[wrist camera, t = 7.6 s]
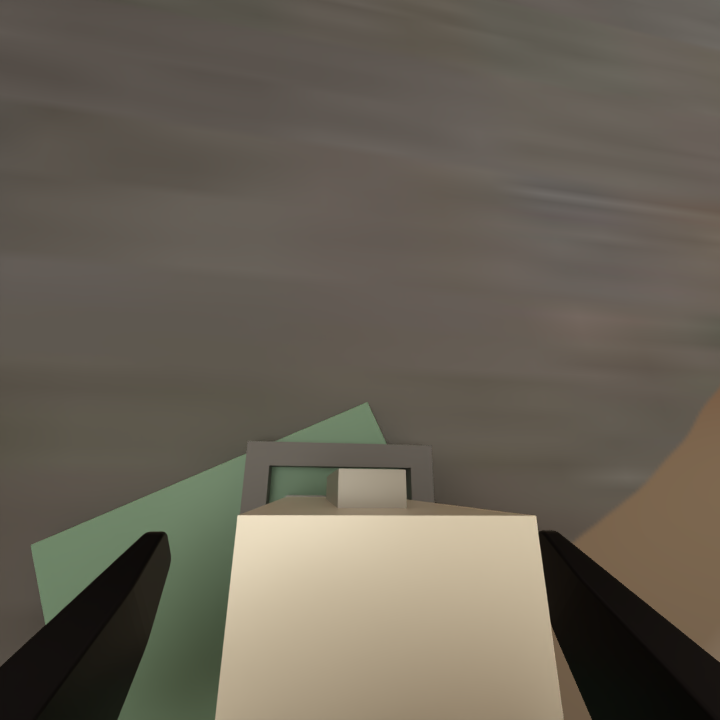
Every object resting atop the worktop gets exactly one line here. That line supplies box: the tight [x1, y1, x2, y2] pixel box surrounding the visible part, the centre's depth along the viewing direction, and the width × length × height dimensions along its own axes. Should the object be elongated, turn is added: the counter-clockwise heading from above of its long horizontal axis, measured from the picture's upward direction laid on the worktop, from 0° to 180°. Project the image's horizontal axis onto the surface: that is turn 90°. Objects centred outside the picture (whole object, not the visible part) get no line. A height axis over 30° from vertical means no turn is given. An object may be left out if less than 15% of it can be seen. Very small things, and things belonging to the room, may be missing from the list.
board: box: [31, 402, 434, 720], centre depth 15 cm, size 14×17×2 cm
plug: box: [215, 469, 564, 720], centre depth 10 cm, size 5×5×12 cm
